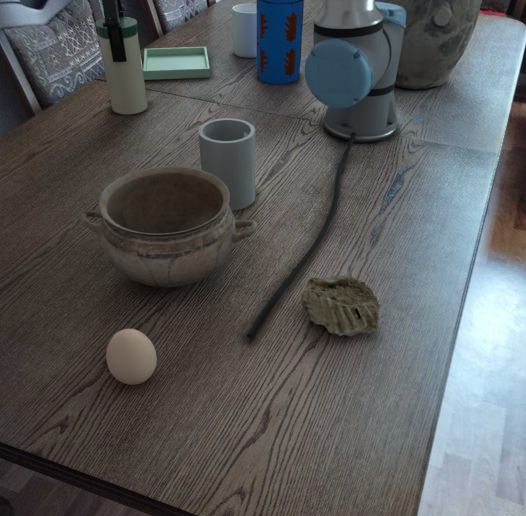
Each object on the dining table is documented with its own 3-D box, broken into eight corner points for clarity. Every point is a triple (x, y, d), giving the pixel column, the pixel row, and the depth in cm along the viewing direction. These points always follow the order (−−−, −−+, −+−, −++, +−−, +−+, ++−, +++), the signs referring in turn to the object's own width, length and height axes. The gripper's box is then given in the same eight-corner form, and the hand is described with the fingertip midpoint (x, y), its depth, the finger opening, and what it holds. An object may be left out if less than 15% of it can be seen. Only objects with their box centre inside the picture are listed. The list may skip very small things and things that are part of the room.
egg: (131, 354, 70) (121, 310, 65) (169, 370, 68) (161, 326, 63) (102, 385, 67) (89, 340, 61) (141, 402, 65) (130, 358, 59)
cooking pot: (72, 305, 77) (48, 231, 68) (111, 229, 90) (95, 158, 81) (250, 318, 75) (249, 244, 66) (263, 239, 88) (264, 168, 80)
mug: (266, 44, 154) (267, 0, 146) (264, 59, 146) (264, 13, 138) (236, 43, 154) (235, -1, 147) (231, 58, 146) (230, 12, 138)
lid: (137, 37, 110) (136, 27, 109) (95, 39, 109) (93, 29, 108) (138, 25, 116) (137, 15, 115) (98, 26, 115) (96, 16, 114)
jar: (147, 113, 121) (135, 30, 109) (110, 115, 120) (94, 31, 109) (148, 99, 127) (136, 18, 115) (112, 100, 126) (98, 19, 114)
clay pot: (381, 58, 147) (402, -83, 125) (468, 72, 140) (506, -75, 119) (354, 87, 133) (373, -67, 111) (449, 104, 126) (489, -56, 104)
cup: (195, 204, 95) (189, 137, 87) (216, 180, 101) (212, 114, 93) (243, 214, 93) (242, 147, 85) (262, 189, 99) (262, 123, 90)
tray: (210, 77, 136) (209, 68, 135) (144, 80, 135) (143, 71, 133) (206, 55, 148) (206, 46, 146) (145, 57, 146) (144, 48, 145)
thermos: (300, 69, 141) (307, -50, 123) (298, 85, 133) (305, -39, 115) (258, 67, 141) (259, -51, 123) (254, 83, 134) (253, -41, 116)
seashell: (367, 360, 74) (390, 296, 77) (374, 343, 67) (398, 273, 70) (289, 333, 76) (314, 272, 79) (288, 313, 69) (315, 247, 72)
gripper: (83, -91, 106) (106, 38, 123) (71, -71, 92) (99, 72, 108) (122, -92, 107) (140, 37, 123) (116, -72, 93) (137, 71, 109)
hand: (121, 53), depth 116 cm, fingers closed on lid, 8 cm apart
